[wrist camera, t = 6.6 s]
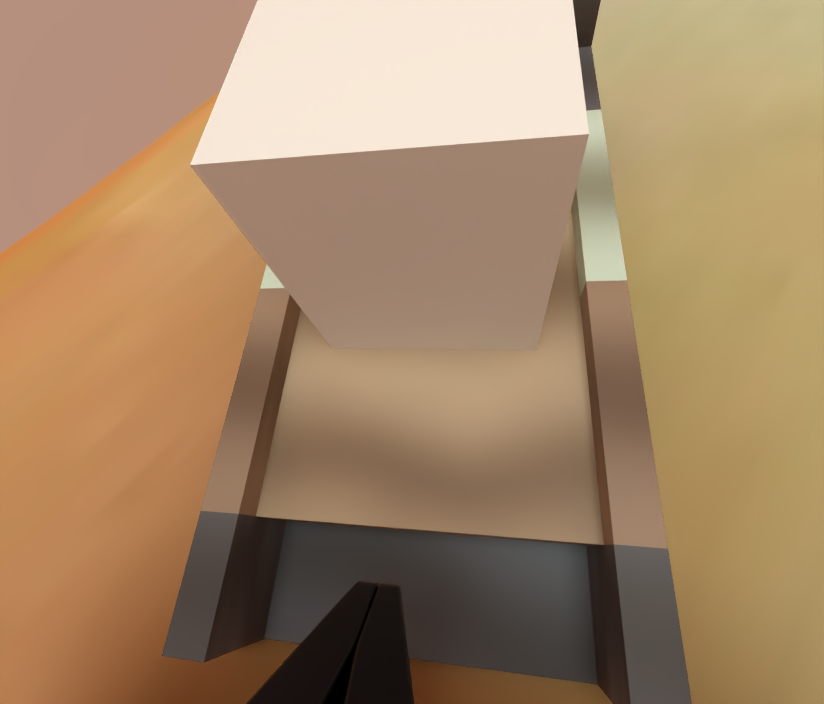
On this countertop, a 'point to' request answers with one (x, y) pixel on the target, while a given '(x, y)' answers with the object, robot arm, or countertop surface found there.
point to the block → (404, 163)
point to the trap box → (453, 482)
